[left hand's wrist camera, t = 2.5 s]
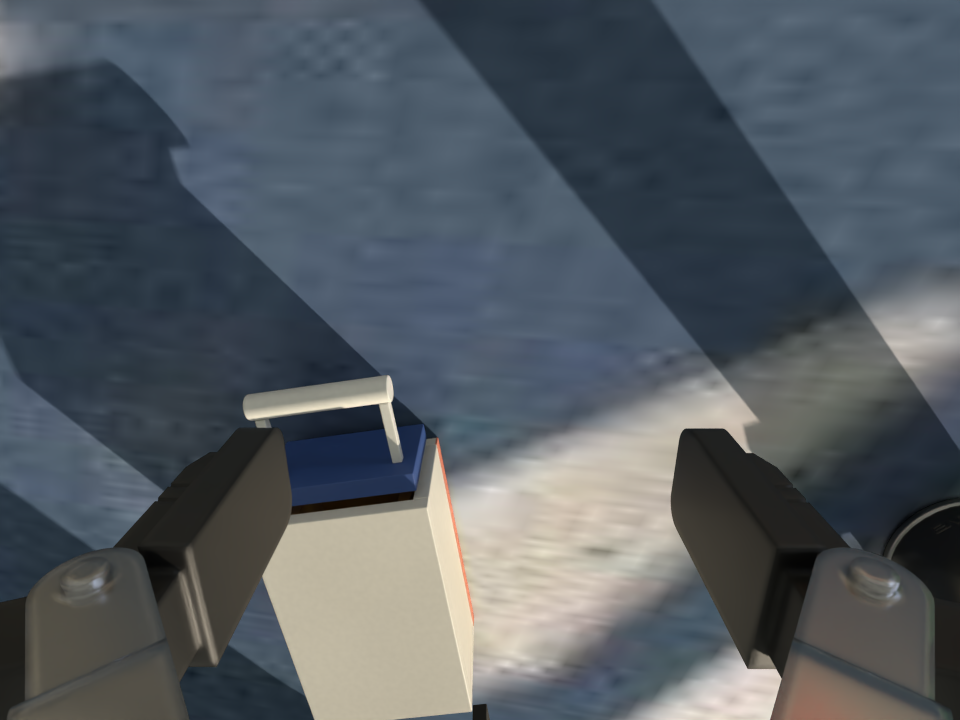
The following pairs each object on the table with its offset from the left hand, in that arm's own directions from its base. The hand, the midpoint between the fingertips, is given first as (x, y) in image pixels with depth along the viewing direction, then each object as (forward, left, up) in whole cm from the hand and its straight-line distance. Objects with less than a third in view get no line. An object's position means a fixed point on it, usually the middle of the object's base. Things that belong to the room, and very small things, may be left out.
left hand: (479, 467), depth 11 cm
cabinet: (-18, +14, -25) cm, 34 cm away
